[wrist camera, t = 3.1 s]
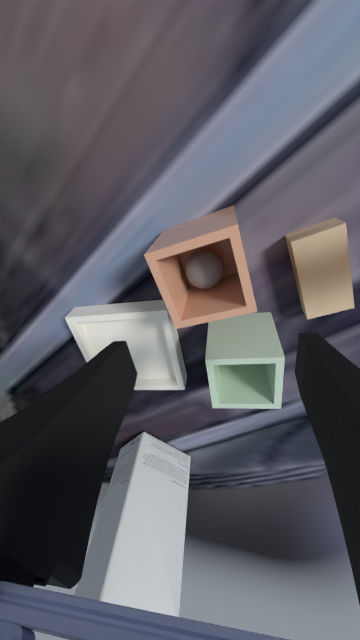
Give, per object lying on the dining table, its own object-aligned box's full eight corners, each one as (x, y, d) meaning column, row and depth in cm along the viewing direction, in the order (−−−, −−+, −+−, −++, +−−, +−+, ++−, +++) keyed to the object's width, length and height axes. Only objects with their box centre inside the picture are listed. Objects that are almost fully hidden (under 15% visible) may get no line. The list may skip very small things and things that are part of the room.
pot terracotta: (249, 273, 19) (257, 311, 14) (186, 290, 20) (176, 329, 16) (233, 205, 16) (237, 224, 12) (164, 229, 18) (143, 254, 13)
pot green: (269, 358, 23) (280, 408, 18) (214, 359, 24) (212, 407, 19) (270, 311, 20) (284, 357, 16) (209, 315, 21) (205, 359, 17)
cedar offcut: (342, 294, 19) (354, 307, 17) (300, 305, 20) (307, 319, 18) (333, 216, 16) (345, 223, 14) (284, 234, 17) (291, 242, 15)
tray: (187, 376, 25) (184, 389, 24) (107, 377, 27) (100, 390, 26) (170, 298, 21) (166, 310, 19) (75, 307, 23) (64, 317, 21)
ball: (226, 269, 18) (221, 297, 17) (192, 268, 19) (185, 295, 18) (225, 241, 16) (219, 271, 15) (186, 241, 17) (178, 270, 16)
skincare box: (120, 445, 35) (61, 614, 22) (145, 427, 32) (92, 613, 19) (167, 471, 37) (138, 638, 24) (195, 456, 34) (178, 641, 21)
